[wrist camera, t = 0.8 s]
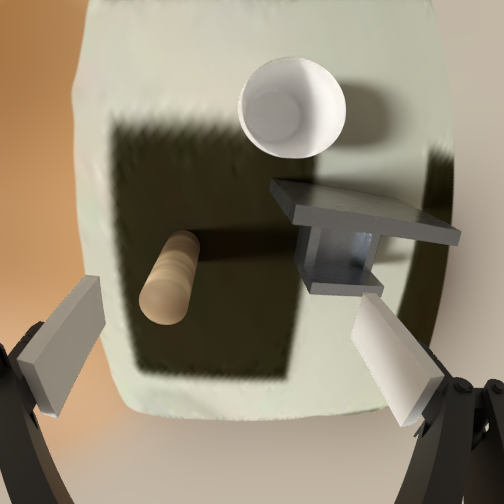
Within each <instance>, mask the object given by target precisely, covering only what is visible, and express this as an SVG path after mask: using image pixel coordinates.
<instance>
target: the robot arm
mask: <svg viewBox="0 0 504 504" xmlns="http://www.w3.org/2000/svg"><path fill="white" fill-rule="evenodd" d="M105 324H106V322H105V316H104V309H103V302H102V295H101V287H100V278H99V276H92V275H85V276H84V278H82V280H81V281H80V282H79V283H78V284H77V285H76V286H75V287H74V289H73V290H72V291H71V292H70V293H69V294H68V295H67V297H66V298H65V299H64V300H63V301H62V302H61V304H60V305H59V306H58V307H57V308H56V310H55V311H54V312H53V313H52V314H51V315H50V317H49V318H48V319H47V320H46V322H41V321H40V322H38V323H36V324H35V325H33V326H31V328H30V329H29V330H28V331H27V332H26V334H25V336H23V337H22V338H21V340H20V341H19V342H18V343H17V345H16V346H15V347H14V348H13V350H12V351H11V352H10V354H9V355H8V356H7V354H6V351H5V349H4V346H3V345H2V344H1V343H0V470H1V473H2V476H3V480H4V482H5V486H6V488H7V492H8V494H9V497H10V500H11V503H12V504H74V503H73V500H72V499H71V497H70V495H69V493H68V491H67V489H66V487H65V485H64V483H63V481H62V479H61V477H60V475H59V473H58V471H57V469H56V466H55V464H54V462H53V460H52V457H51V455H50V453H49V450H48V448H47V445H46V443H45V441H44V438H43V435H42V432H41V430H40V427H39V424H38V421H37V418H36V415H35V413H34V412H33V409H34V407H35V405H36V403H37V405H38V407H39V409H40V411H41V413H42V414H46V415H49V416H52V417H55V418H58V416H59V414H60V412H61V410H62V408H63V406H64V403H65V401H66V399H67V397H68V395H69V393H70V391H71V388H72V387H73V384H74V383H75V381H76V378H77V377H78V375H79V373H80V371H81V369H82V367H83V365H84V363H85V361H86V359H87V357H88V355H89V353H90V352H91V349H92V348H93V346H94V344H95V342H96V340H97V338H98V337H99V335H100V333H101V331H102V330H103V328H104V326H105ZM350 337H351V339H352V341H353V343H354V344H355V346H356V348H357V350H358V351H359V353H360V355H361V357H362V358H363V360H364V362H365V364H366V365H367V367H368V369H369V371H370V372H371V374H372V376H373V378H374V379H375V381H376V383H377V385H378V387H379V388H380V390H381V392H382V394H383V396H384V398H385V399H386V401H387V403H388V405H389V407H390V408H391V410H392V412H393V414H394V416H395V418H396V419H397V422H398V423H399V425H400V427H404V426H408V425H412V424H415V423H416V421H417V420H418V418H419V417H420V415H421V414H422V415H423V417H424V419H425V420H424V422H423V423H422V425H421V426H420V427H419V429H418V430H417V432H416V433H415V435H414V437H416V436H417V435H418V434H419V435H418V439H417V442H416V446H415V449H414V452H413V455H412V458H411V461H410V464H409V467H408V470H407V473H406V475H405V478H404V481H403V483H402V486H401V488H400V491H399V493H398V496H397V498H396V501H395V503H394V504H462V500H463V495H464V504H504V383H503V382H502V381H500V380H496V379H490V380H488V381H487V383H486V384H485V386H484V388H474V387H473V386H472V384H471V383H470V382H468V381H467V380H465V379H463V378H459V377H454V378H453V377H452V376H451V374H450V373H449V372H448V371H447V370H446V368H445V367H444V366H443V365H442V363H441V362H440V361H439V360H437V357H436V356H435V355H434V354H433V352H432V351H431V350H430V349H429V347H428V346H427V345H425V344H424V343H422V342H421V341H419V340H416V339H415V338H414V337H413V336H412V334H411V333H410V332H409V331H408V330H407V329H406V327H405V326H404V325H403V324H402V323H401V321H400V320H399V319H398V318H397V317H396V316H395V314H394V313H393V312H392V311H391V310H390V309H389V308H388V306H387V305H386V304H385V303H384V302H383V301H382V300H381V298H380V297H379V296H378V295H377V294H376V293H363V296H362V300H361V303H360V307H359V310H358V314H357V317H356V320H355V323H354V327H353V330H352V333H351V336H350ZM488 423H489V429H488V431H487V432H486V430H485V426H486V425H487V424H488Z"/></svg>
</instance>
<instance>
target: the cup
mask: <svg viewBox="0 0 504 504" xmlns="http://www.w3.org/2000/svg"><path fill="white" fill-rule="evenodd" d="M238 115H239V120H240V123H241V126H242V128H243V130H244V132H245V134H246V135H247V137H248V138H249V139H250V140H251V141H252V142H253V143H254V144H255V145H256V146H257V147H258V148H260V149H261V150H263V151H265V152H267V153H269V154H271V155H274V156H278V157H284V158H305V157H310V156H313V155H316V154H318V153H320V152H322V151H324V150H325V149H327V148H328V147H329V146H331V145H332V144H333V143H334V141H335V140H336V139H337V138H338V136H339V134H340V133H341V131H342V128H343V126H344V122H345V117H346V103H345V98H344V95H343V92H342V90H341V88H340V86H339V84H338V83H337V81H336V80H335V78H334V77H333V76H332V75H331V74H330V73H329V72H328V71H327V70H326V69H324V68H323V67H322V66H320V65H318V64H316V63H314V62H312V61H309V60H306V59H302V58H294V57H287V58H280V59H276V60H273V61H271V62H268V63H267V64H265V65H263V66H262V67H260V68H259V69H258V70H257V71H256V72H255V73H254V74H253V75H252V76H251V77H250V78H249V79H248V81H247V82H246V83H245V85H244V87H243V89H242V91H241V93H240V97H239V101H238Z"/></svg>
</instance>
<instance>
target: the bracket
mask: <svg viewBox="0 0 504 504" xmlns="http://www.w3.org/2000/svg"><path fill="white" fill-rule="evenodd" d="M270 193H271V194H272V196H273V197H274V198H275V200H276V201H277V203H278V204H279V205H280V207H281V208H282V210H283V211H284V213H285V214H286V215H287V217H288V218H289V220H290V221H291V223H292V224H295V225H300V227H299V233H298V238H297V244H296V249H295V254H294V260H293V261H294V263H295V265H296V267H297V269H298V271H299V273H300V275H301V277H302V279H303V281H304V283H305V285H306V288H307V290H308V292H309V294H317V295H337V296H361V297H362V296H363V293H376V294H377V295H378V296H379V297H381V296H382V293H383V289H384V286H383V285H382V283H381V282H380V281H379V280H378V279H377V278H376V277H375V276H374V275H373V274H372V273H371V269H372V266H373V262H374V259H375V255H376V251H377V247H378V244H379V240H380V236H381V235H385V236H392V237H399V238H406V239H413V240H420V241H427V242H434V243H440V244H447V245H454V246H457V245H458V242H459V239H460V235H461V231H460V230H458V229H456V228H454V227H452V226H451V225H449V224H447V223H445V222H443V221H441V220H439V219H437V218H435V217H433V216H431V215H429V214H427V213H425V212H423V211H421V210H419V209H417V208H415V207H413V206H411V205H409V204H407V203H405V202H403V201H400V200H398V199H394V198H389V197H384V196H379V195H374V194H368V193H363V192H357V191H352V190H346V189H340V188H334V187H328V186H321V185H315V184H308V183H301V182H294V181H287V180H279V179H271V183H270Z"/></svg>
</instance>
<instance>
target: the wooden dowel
mask: <svg viewBox="0 0 504 504" xmlns="http://www.w3.org/2000/svg"><path fill="white" fill-rule="evenodd" d="M199 252H200V242H199V240H198V238H197V237H196V236H195V235H194V234H193V233H191V232H189V231H185V230H180V231H176V232H174V233H173V234H172V235H171V236H170V237H169V238H168V240H167V242H166V244H165V246H164V248H163V250H162V252H161V254H160V256H159V257H158V259H157V261H156V263H155V265H154V267H153V269H152V271H151V273H150V275H149V277H148V279H147V281H146V283H145V285H144V287H143V289H142V291H141V293H140V297H139V304H140V307H141V310H142V311H143V313H144V314H145V315H146V316H147V317H148V318H149V319H150V320H152V321H154V322H156V323H159V324H165V325H169V324H174V323H177V322H179V321H180V320H182V319H183V318H184V316H185V315H186V313H187V309H188V304H189V299H190V294H191V290H192V285H193V280H194V275H195V271H196V266H197V261H198V257H199Z"/></svg>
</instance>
